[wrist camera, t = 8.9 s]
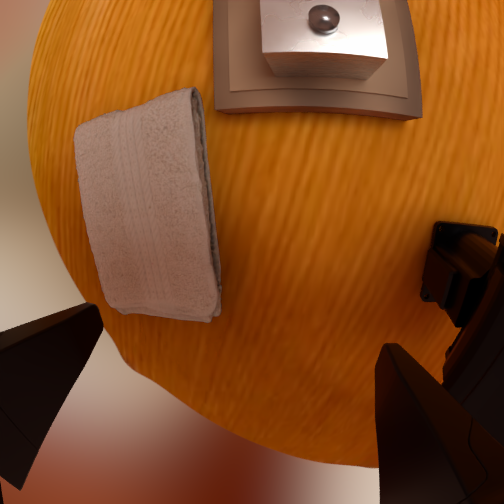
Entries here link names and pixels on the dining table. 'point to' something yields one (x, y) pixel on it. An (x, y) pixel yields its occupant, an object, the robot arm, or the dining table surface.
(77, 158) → the washcloth
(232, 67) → the tray
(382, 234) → the dining table surface
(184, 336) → the dining table surface
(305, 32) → the housing
